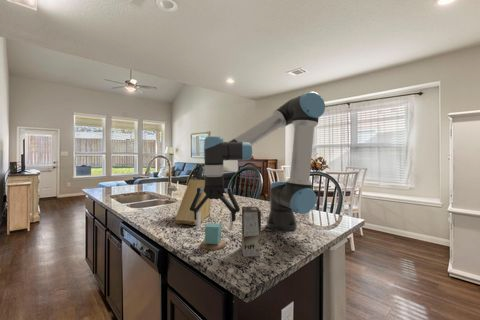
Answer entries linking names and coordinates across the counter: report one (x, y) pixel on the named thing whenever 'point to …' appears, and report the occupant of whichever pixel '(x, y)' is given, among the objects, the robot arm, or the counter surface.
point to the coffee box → (251, 231)
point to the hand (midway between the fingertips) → (214, 228)
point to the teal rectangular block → (213, 233)
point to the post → (213, 245)
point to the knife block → (184, 210)
